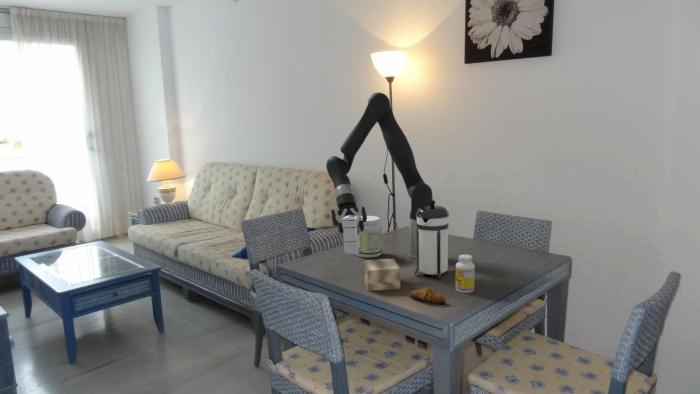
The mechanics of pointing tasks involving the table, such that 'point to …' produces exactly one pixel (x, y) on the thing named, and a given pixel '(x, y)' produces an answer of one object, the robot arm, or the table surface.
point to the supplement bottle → (465, 274)
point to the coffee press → (432, 240)
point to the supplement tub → (371, 238)
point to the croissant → (428, 296)
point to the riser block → (381, 274)
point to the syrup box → (351, 234)
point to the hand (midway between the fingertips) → (352, 231)
